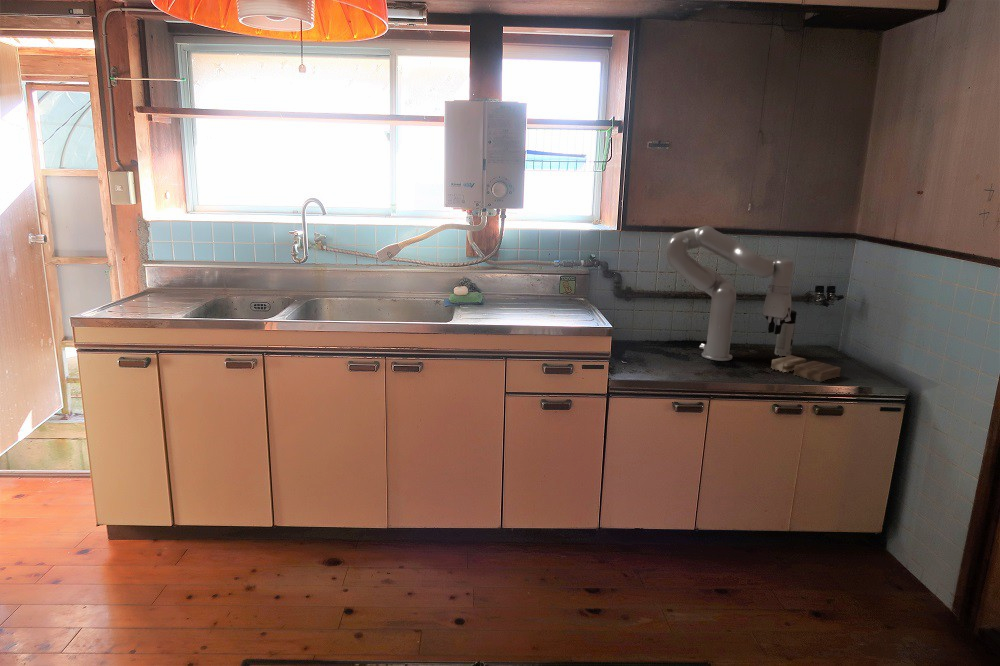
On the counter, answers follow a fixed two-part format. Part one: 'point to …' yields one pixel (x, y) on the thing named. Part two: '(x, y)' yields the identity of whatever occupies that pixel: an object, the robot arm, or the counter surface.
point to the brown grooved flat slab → (816, 371)
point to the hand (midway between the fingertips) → (774, 332)
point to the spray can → (786, 337)
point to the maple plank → (786, 363)
